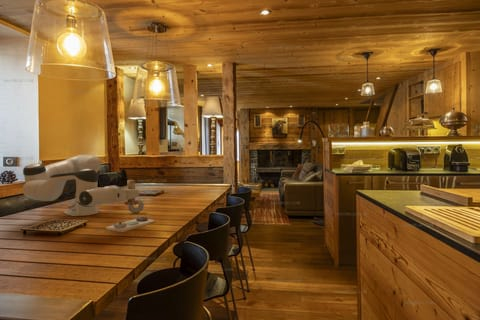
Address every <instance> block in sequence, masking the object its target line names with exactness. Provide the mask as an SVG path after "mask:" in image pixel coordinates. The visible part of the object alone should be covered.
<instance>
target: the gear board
mask: <svg viewBox="0 0 480 320" xmlns="http://www.w3.org/2000/svg"><path fill="white" fill-rule="evenodd" d="M154 223H156V221H155V219H148V217H147V216H144V215H141V216H140V217H137V218H134V219H131V220H127V221H123V222H122V221H119V222H116V223H115V224H113V225H109V226H106V227H105V230H107V231H112V232H119V233H125V232H128V231H131V230H134V229H137V228H141V227H144V226H147V225H150V224H154Z"/></svg>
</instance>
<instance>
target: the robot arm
mask: <svg viewBox="0 0 480 320" xmlns="http://www.w3.org/2000/svg"><path fill="white" fill-rule="evenodd" d="M101 166H102V161H101V159H100V158H99V157H97V156H95V155H94V154H79V155H76V156H72V157H69V158H67V159H64V160H60V161H58V162H54V163H49V164H47V165H44V164H42V163H40V162H37V163H35V162H34V163H30V164H28V165H26V166H24V168H23V170H22V174H23V177H24V182H25V184H23V186H22V194H23V195H24V196H25V197H26V198H28V199H30V200H32V201H34V202H52V201H55V200H57V199H58V198H59V197H60V196H61V195H62V193H63V192H64V188H65V185H66V183H67V181H69V180H71V181H72V180H75V184H76V185H75V193H74V199H72V201H71V202H69V203H68V205H67V210H65V211H63V214H65V215H68V216H72V217H78V216H80V217H81V216H91V215H95V214H98V213H99V212H100V209H99V206H101V205H104V204H113V203H114V204H115V203H117V202H118V203H119V202H121V203H122V202H123V203H124V202H126V201H127V200H128V199H132V198H138V197H139V196H140V191H139V189H135V190H133V189H127V188H124V187H120V186H117V185H107V186H104V187H98V181H99V174H98V171H99V169H100V168H101Z"/></svg>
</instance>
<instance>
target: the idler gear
mask: <svg viewBox="0 0 480 320" xmlns="http://www.w3.org/2000/svg"><path fill="white" fill-rule="evenodd" d="M126 182H127V188H126V189H133V190H136V180H135V179H128V180H127V181H126ZM124 205H125V206H128V205H133V206H135V205H136V206H137V205H138V201H135V198H132V199H128V200H126V201H124Z"/></svg>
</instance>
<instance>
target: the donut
mask: <svg viewBox="0 0 480 320" xmlns="http://www.w3.org/2000/svg"><path fill="white" fill-rule="evenodd" d="M135 201H138V204H137V205H138V207H134V205H127V207H128V210H129V212H131V213H133V214H138V213H141V212H142V211H143V209H144V205H145V204H144V202H143V200H142V199H141V198H138V197H136V198H135Z"/></svg>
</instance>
